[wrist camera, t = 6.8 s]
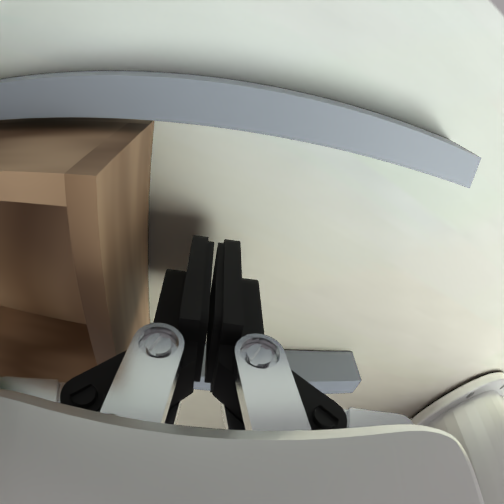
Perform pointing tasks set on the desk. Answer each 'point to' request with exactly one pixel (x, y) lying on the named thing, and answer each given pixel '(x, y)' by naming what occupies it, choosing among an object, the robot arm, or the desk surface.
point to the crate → (72, 242)
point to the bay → (251, 120)
